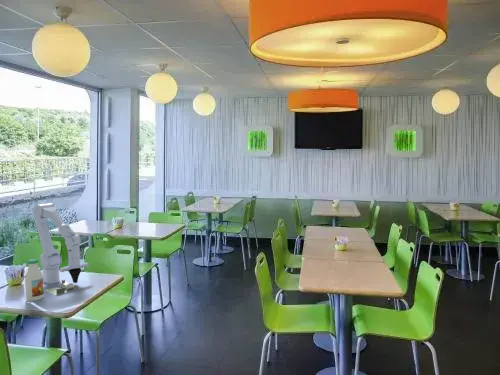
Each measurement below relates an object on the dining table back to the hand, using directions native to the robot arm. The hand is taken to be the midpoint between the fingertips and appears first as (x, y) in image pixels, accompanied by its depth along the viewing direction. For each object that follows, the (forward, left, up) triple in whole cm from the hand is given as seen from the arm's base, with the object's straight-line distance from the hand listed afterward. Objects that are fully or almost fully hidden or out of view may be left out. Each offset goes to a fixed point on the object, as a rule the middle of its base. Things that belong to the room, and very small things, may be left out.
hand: (75, 282), depth 231 cm
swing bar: (+3, -6, -1) cm, 6 cm away
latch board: (+3, -8, -2) cm, 9 cm away
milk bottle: (+6, -23, -3) cm, 24 cm away
